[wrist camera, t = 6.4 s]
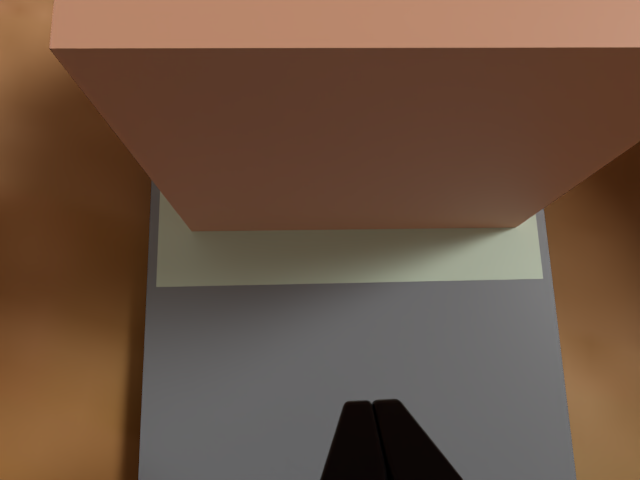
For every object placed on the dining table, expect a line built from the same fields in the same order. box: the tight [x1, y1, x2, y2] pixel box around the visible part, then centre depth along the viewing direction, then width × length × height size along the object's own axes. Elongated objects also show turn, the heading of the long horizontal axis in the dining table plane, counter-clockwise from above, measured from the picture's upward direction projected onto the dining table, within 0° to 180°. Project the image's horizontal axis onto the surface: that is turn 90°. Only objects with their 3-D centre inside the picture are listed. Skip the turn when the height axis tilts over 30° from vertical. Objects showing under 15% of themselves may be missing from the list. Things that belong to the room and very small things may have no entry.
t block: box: [49, 0, 640, 231], centre depth 12 cm, size 8×9×9 cm
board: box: [138, 181, 576, 480], centre depth 16 cm, size 20×11×1 cm, turn 1°
